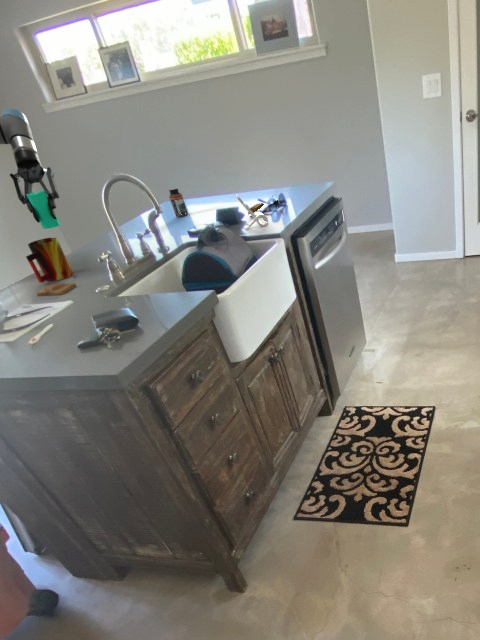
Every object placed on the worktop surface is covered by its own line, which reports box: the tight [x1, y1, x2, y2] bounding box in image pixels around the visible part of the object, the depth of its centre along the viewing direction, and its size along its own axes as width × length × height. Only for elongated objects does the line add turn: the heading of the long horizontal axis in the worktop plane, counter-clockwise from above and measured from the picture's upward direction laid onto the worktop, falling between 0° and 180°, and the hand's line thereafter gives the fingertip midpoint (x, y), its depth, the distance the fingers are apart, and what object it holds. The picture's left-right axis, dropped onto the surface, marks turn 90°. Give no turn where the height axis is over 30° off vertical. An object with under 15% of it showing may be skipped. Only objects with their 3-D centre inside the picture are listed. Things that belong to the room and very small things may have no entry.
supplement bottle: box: [168, 187, 189, 218], centre depth 245 cm, size 6×6×11 cm
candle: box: [26, 187, 61, 230], centre depth 179 cm, size 6×6×12 cm
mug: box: [25, 236, 75, 284], centre depth 186 cm, size 10×14×12 cm
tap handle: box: [247, 195, 274, 218], centre depth 237 cm, size 3×3×30 cm
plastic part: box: [235, 194, 269, 231], centre depth 211 cm, size 8×10×12 cm
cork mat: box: [36, 282, 77, 297], centre depth 177 cm, size 10×8×1 cm
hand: (45, 218), depth 179 cm, fingers closed on candle, 5 cm apart
